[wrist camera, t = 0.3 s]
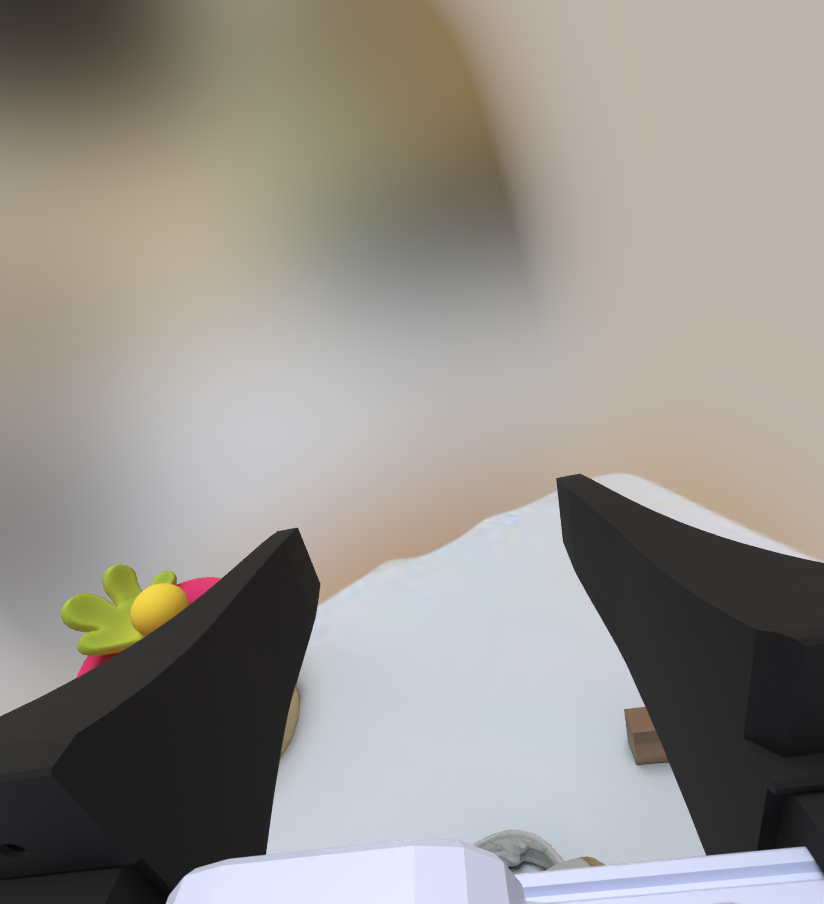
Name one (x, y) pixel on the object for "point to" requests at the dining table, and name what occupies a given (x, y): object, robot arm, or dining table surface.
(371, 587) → the dining table surface
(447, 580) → the dining table surface
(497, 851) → the ceramic mug
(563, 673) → the dining table surface
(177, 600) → the cake
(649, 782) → the dining table surface
